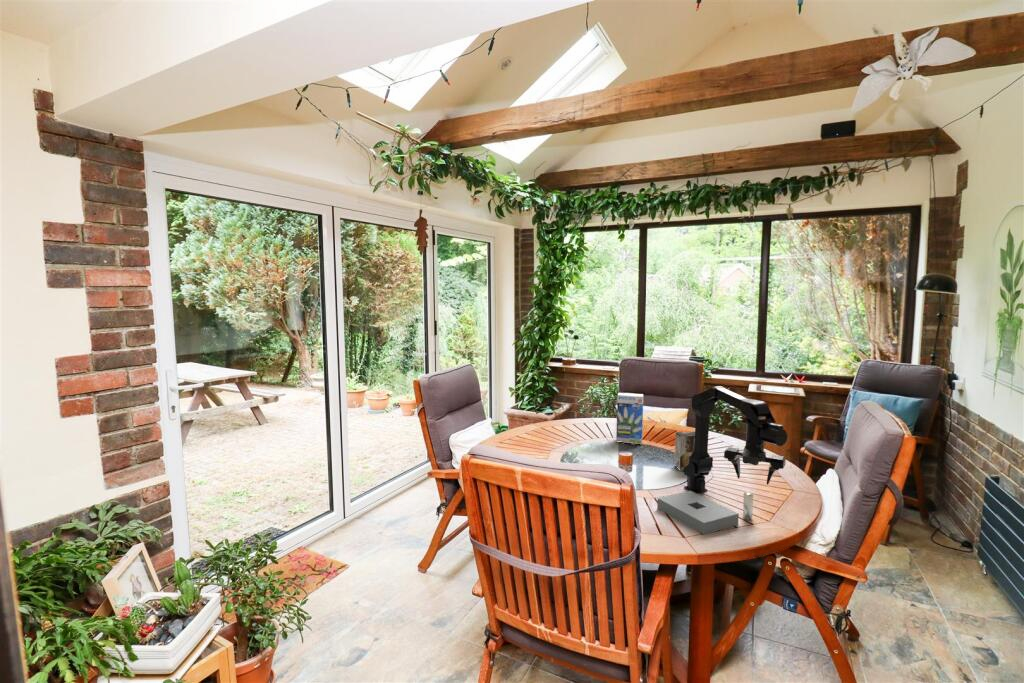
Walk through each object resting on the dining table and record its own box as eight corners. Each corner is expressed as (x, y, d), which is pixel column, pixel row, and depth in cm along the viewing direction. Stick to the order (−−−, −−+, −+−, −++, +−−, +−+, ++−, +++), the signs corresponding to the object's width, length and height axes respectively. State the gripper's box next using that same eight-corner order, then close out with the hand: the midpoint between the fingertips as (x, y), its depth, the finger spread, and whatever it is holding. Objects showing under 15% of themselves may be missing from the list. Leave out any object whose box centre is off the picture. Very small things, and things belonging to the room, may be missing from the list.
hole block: (657, 508, 184) (657, 498, 183) (689, 500, 191) (690, 490, 190) (703, 534, 164) (704, 522, 164) (738, 524, 171) (738, 513, 171)
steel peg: (740, 517, 176) (741, 492, 176) (746, 515, 178) (747, 491, 177) (748, 521, 174) (749, 496, 173) (754, 519, 175) (755, 494, 174)
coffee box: (693, 465, 229) (695, 431, 227) (699, 470, 223) (700, 435, 221) (674, 466, 229) (675, 431, 227) (679, 471, 222) (680, 435, 221)
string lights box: (615, 443, 263) (616, 394, 261) (617, 439, 271) (618, 392, 268) (641, 445, 260) (643, 396, 257) (642, 441, 267) (643, 393, 264)
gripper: (721, 438, 172) (719, 482, 173) (782, 448, 161) (779, 495, 163) (728, 431, 181) (726, 472, 182) (787, 440, 170) (784, 484, 172)
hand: (753, 481), depth 175 cm, fingers open, 9 cm apart
